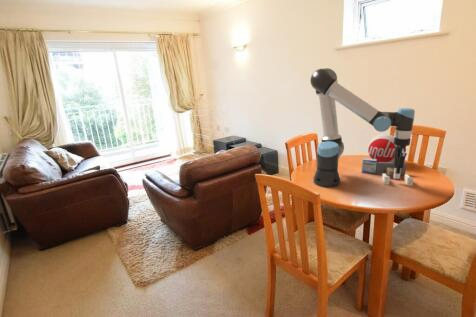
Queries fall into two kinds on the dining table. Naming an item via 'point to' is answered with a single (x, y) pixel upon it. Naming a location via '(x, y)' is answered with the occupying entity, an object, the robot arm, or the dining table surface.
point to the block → (390, 172)
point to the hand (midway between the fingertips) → (396, 178)
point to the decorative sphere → (382, 148)
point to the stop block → (383, 166)
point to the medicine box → (369, 165)
